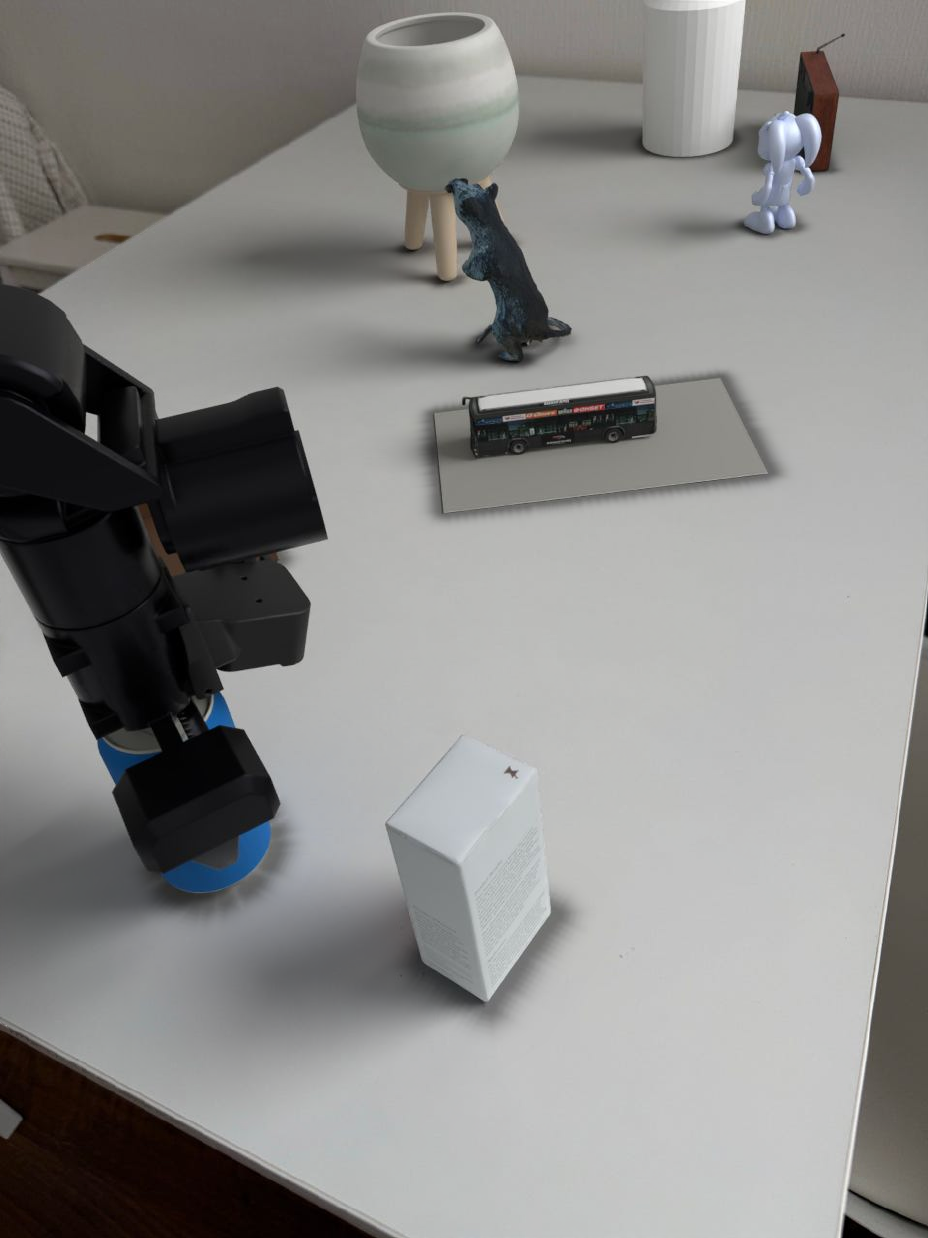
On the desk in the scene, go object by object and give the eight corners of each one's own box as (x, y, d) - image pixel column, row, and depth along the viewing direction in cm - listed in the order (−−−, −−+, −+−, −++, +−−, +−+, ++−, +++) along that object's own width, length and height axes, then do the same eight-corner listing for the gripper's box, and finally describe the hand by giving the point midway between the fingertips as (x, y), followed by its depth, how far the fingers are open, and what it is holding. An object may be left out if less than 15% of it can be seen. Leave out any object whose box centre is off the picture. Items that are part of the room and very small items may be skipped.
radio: (789, 124, 133) (803, -9, 123) (813, 122, 133) (830, -11, 123) (803, 178, 120) (820, 34, 110) (830, 177, 119) (850, 32, 109)
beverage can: (231, 786, 62) (175, 641, 54) (296, 847, 58) (247, 702, 50) (138, 854, 59) (64, 711, 51) (200, 923, 55) (131, 781, 47)
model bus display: (434, 413, 90) (428, 370, 87) (719, 378, 90) (723, 333, 87) (443, 513, 80) (437, 467, 77) (767, 473, 79) (773, 425, 76)
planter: (446, 304, 105) (417, 63, 90) (352, 263, 115) (312, 39, 100) (558, 249, 112) (549, 17, 97) (461, 215, 122) (439, -1, 107)
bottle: (631, 131, 137) (633, -95, 120) (719, 119, 137) (734, -109, 120) (652, 162, 128) (659, -77, 111) (747, 149, 128) (768, -92, 111)
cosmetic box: (485, 876, 56) (464, 728, 47) (553, 914, 53) (542, 767, 45) (416, 964, 52) (380, 822, 44) (485, 1008, 50) (461, 867, 42)
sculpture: (493, 313, 103) (480, 157, 93) (587, 335, 98) (584, 173, 88) (444, 351, 98) (424, 191, 88) (540, 376, 93) (531, 210, 83)
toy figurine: (785, 209, 114) (798, 92, 106) (818, 229, 110) (834, 109, 102) (729, 222, 113) (738, 105, 105) (759, 244, 109) (771, 123, 100)
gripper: (352, 629, 41) (410, 854, 52) (201, 427, 54) (273, 641, 64) (79, 755, 38) (200, 968, 48) (-14, 508, 50) (99, 720, 61)
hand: (199, 803), depth 56 cm, fingers open, 9 cm apart
